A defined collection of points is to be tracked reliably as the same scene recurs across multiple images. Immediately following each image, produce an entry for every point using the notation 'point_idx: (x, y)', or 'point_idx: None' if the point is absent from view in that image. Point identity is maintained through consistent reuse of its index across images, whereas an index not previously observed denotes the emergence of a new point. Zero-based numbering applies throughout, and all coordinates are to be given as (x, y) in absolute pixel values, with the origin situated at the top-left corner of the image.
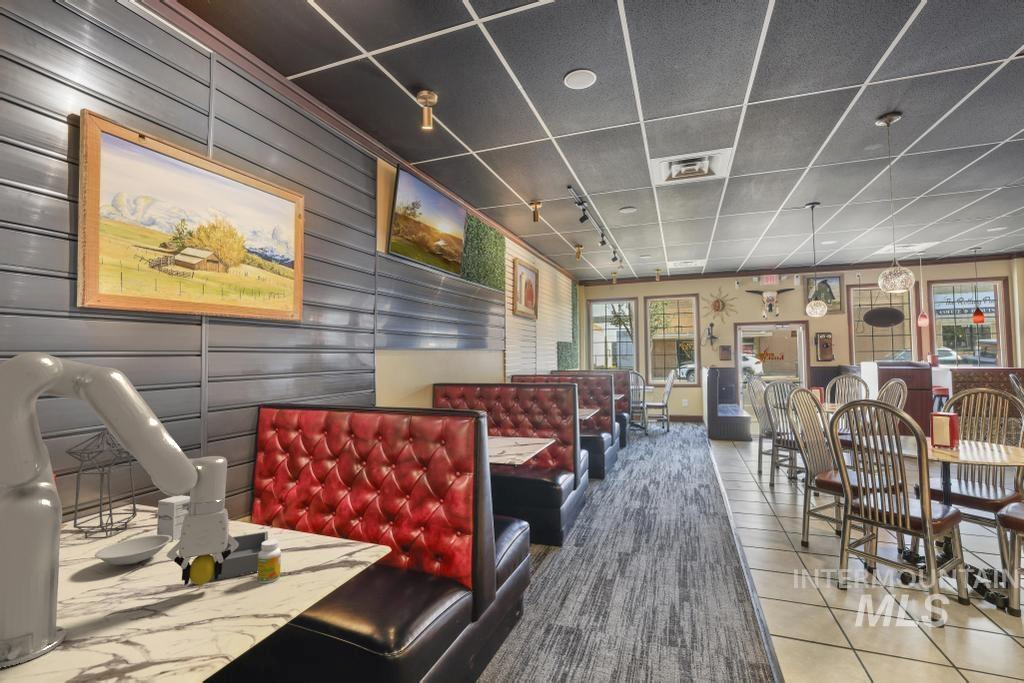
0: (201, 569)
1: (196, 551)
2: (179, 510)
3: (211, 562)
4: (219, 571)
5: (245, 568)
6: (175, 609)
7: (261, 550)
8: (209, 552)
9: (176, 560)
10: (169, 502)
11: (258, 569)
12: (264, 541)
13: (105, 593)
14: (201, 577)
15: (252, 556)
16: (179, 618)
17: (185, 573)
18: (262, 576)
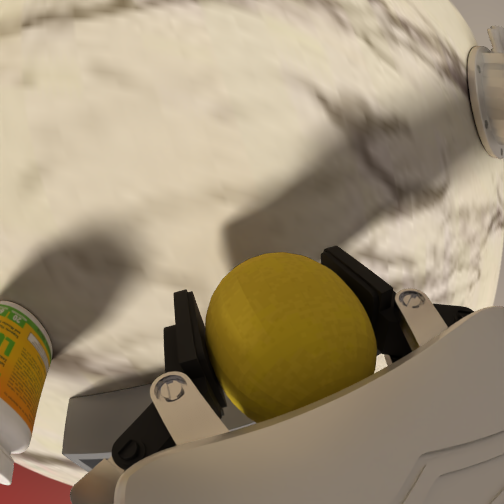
0: (292, 288)
1: (451, 381)
2: None
3: (239, 364)
4: (175, 334)
5: (130, 405)
6: (305, 136)
7: (19, 444)
8: (300, 430)
9: (466, 312)
10: None
11: (19, 354)
12: (5, 481)
13: (446, 300)
14: (265, 259)
15: (108, 445)
16: (262, 45)
17: (371, 273)
18: (4, 319)
